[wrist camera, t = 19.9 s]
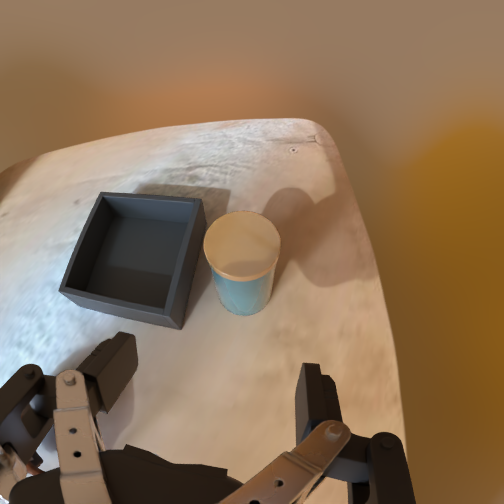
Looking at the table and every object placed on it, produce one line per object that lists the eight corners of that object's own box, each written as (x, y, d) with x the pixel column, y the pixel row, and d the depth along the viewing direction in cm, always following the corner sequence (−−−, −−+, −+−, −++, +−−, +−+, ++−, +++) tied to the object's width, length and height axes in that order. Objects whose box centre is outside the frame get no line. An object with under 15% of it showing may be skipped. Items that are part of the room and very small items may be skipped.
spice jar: (206, 299, 26) (188, 254, 19) (235, 256, 28) (230, 200, 21) (254, 327, 25) (256, 291, 17) (281, 281, 27) (294, 230, 19)
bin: (79, 306, 25) (58, 291, 22) (113, 214, 31) (100, 191, 27) (181, 330, 25) (169, 317, 21) (207, 223, 30) (201, 198, 26)
